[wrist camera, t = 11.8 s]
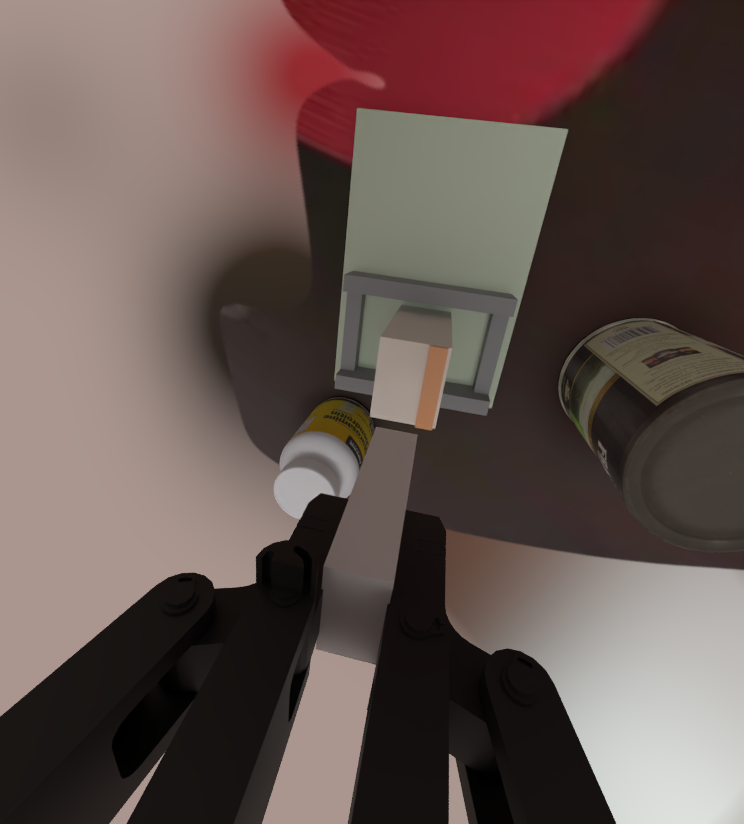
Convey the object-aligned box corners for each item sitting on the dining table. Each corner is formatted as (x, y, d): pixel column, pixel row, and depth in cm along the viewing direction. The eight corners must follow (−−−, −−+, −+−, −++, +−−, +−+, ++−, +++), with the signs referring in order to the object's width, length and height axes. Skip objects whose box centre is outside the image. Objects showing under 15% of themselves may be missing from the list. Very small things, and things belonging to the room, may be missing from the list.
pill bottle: (387, 442, 39) (364, 519, 28) (331, 462, 41) (290, 541, 30) (357, 384, 37) (320, 444, 26) (299, 408, 39) (245, 473, 28)
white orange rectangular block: (401, 304, 32) (379, 337, 22) (451, 312, 31) (452, 349, 21) (392, 363, 34) (368, 418, 24) (439, 371, 34) (434, 431, 23)
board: (360, 112, 28) (346, 94, 24) (563, 133, 27) (582, 117, 23) (337, 375, 37) (324, 392, 33) (490, 402, 35) (495, 423, 31)
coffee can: (611, 457, 35) (701, 583, 23) (531, 381, 34) (580, 470, 21) (728, 378, 31) (920, 479, 18) (642, 287, 30) (788, 329, 17)
